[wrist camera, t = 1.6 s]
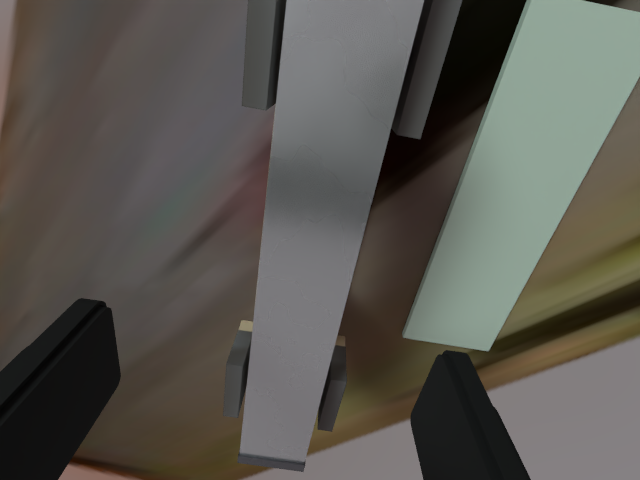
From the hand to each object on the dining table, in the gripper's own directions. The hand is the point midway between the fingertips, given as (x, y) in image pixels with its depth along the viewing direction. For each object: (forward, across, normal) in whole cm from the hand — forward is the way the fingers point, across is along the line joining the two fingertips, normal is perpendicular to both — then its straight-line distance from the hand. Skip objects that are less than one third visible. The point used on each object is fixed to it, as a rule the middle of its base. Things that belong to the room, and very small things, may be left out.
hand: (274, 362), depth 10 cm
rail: (+7, -1, 0) cm, 7 cm away
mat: (+17, -15, 0) cm, 22 cm away
